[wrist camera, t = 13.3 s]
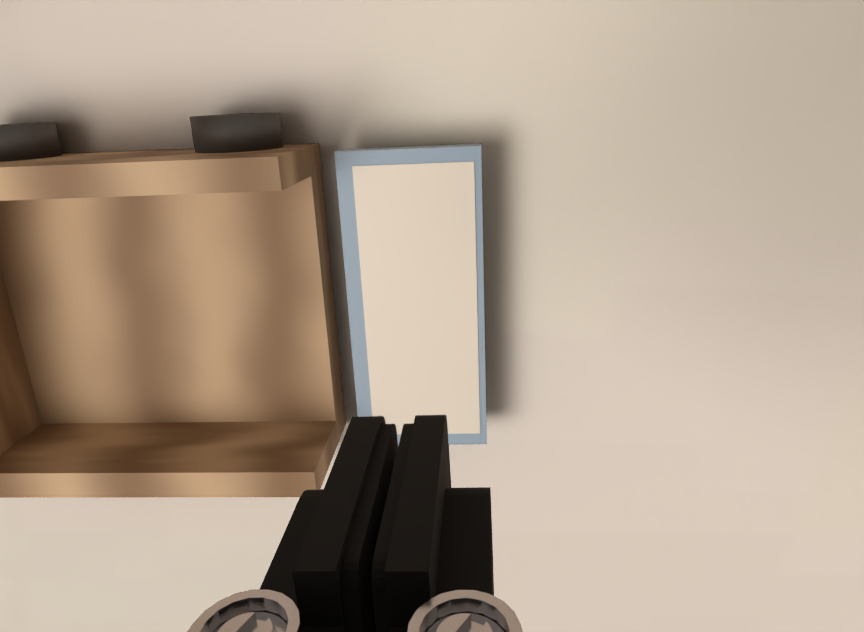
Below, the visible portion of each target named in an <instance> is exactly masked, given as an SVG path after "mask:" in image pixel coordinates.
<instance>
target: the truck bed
mask: <svg viewBox="0 0 864 632" xmlns="http://www.w3.org/2000/svg"><path fill="white" fill-rule="evenodd" d="M190 122H191V128H192V135H193V141H194V148H193V149H169V150H144V151H119V152H95V153H70V154H62V152H61V148H60V143H59V139H58V134H57V129H56V125H55V122H48V123H25V124H4V125H0V497H300V496H301V495H302V493H303V492H304V491H305V490H320V488H321V486H322V483H323V480H324V478H325V475H326V473H327V470H328V468H329V465H330V462H331V460H332V457H333V455H334V452H335V450H336V447H337V444H338V442H339V439H340V437H341V434H342V432H343V429H344V426H345V424H346V421H345V411H344V400H343V390H342V379H341V369H340V358H339V348H338V337H337V327H336V316H335V306H334V295H333V285H332V274H331V264H330V253H329V243H328V232H327V222H326V211H325V201H324V190H323V180H322V169H321V159H320V148H319V143H317V144H292V145H283V142H282V133H281V124H280V115H279V113H250V114H229V115H210V116H195V117H190Z"/></svg>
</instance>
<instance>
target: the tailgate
mask: <svg viewBox="0 0 864 632" xmlns="http://www.w3.org/2000/svg"><path fill="white" fill-rule="evenodd" d="M334 155H335V166H336V178H337V189H338V200H339V212H340V223H341V234H342V245H343V257H344V268H345V279H346V291H347V302H348V313H349V325H350V336H351V347H352V358H353V370H354V381H355V392H356V404H357V415H358V417H366V416H383V417H384V418H385V423H386V424H395V425H396V430H397V440H398V445H399V442H400V437H401V433H402V428H403V425H404V424H412V423H414V419H415V416H416V415H446V417H447V427H448V444H487V434H486V379H485V323H484V268H483V213H482V157H481V144H463V145H438V146H413V147H388V148H363V149H340V150H337V151H335V152H334Z"/></svg>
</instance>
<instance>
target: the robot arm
mask: <svg viewBox="0 0 864 632" xmlns="http://www.w3.org/2000/svg"><path fill="white" fill-rule="evenodd" d="M187 632H523V631H522V627H521V624H520V622H519V620H518V618H517V616H516V614H515V612H514V611H513V610H512V609H511V608H510V607H509V606H508V605H507V604H506V603H505V602H504V601H502V600H500V599H498V598H497V597H495V596H494V583H493V550H492V521H491V495H490V488H451V477H450V461H449V444H448V427H447V417H446V415H416V416H415V419H414V423H412V424H404V425H403V428H402V433H401V437H400V442H399V446H398V440H397V430H396V425H395V424H386V423H385V418H384V417H383V416H366V417H352V419H351V421H350V424H349V426H348V429H347V431H346V434H345V437H344V439H343V442H342V444H341V447H340V449H339V452H338V455H337V457H336V460H335V462H334V465H333V467H332V470H331V473H330V475H329V478H328V480H327V483H326V485H325V488H324V489H322V490H305V491H304V492H303V493H302V495H301V496H300V499H299V501H298V503H297V505H296V508H295V510H294V512H293V515H292V517H291V519H290V521H289V524H288V526H287V528H286V531H285V533H284V535H283V537H282V540H281V542H280V544H279V547H278V549H277V551H276V553H275V556H274V558H273V560H272V562H271V565H270V567H269V569H268V572H267V574H266V576H265V578H264V581H263V583H262V585H261V588H260V590H249V591H244V592H240V593H236V594H233V595H231V596H229V597H226V598H224V599H222V600H220V601H218V602H217V603H215V604H214V605H212V606H211V607H210V608H208V609H207V610H205V611H204V612H203V613H202V614H201V616H200V617H199V618H198V619H197V620H196V621H195V622H194V623H193V624H192V626H191V627H190V629H189V630H188V631H187Z"/></svg>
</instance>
